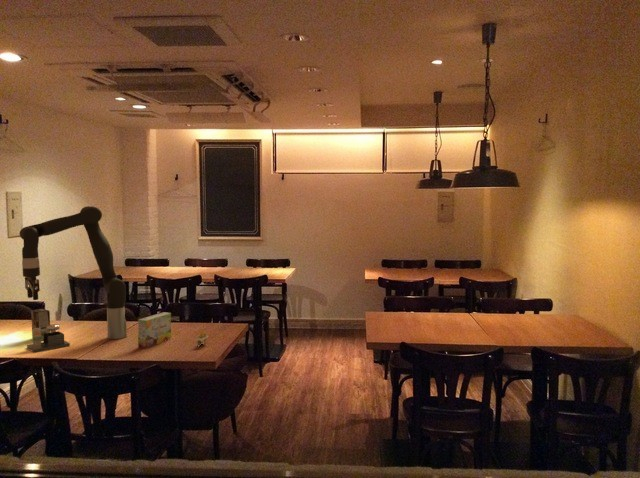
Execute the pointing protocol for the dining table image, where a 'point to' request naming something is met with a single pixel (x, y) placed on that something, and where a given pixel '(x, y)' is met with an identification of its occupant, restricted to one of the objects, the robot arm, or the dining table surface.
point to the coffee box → (40, 320)
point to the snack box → (154, 329)
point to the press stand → (47, 341)
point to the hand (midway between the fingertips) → (32, 298)
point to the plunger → (50, 328)
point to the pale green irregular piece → (202, 338)
